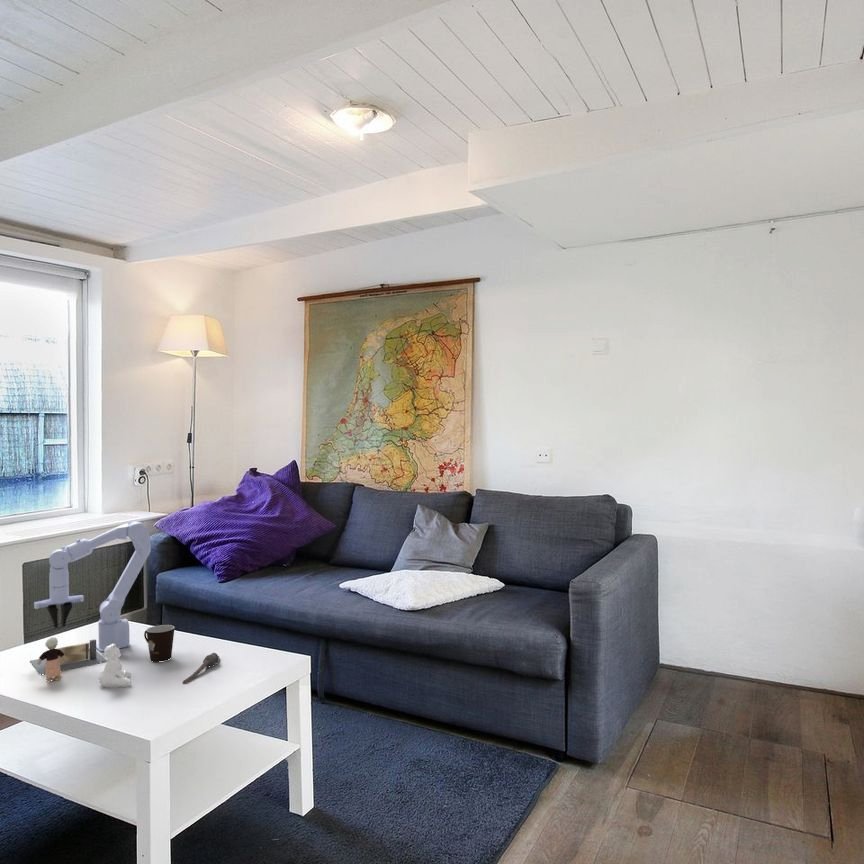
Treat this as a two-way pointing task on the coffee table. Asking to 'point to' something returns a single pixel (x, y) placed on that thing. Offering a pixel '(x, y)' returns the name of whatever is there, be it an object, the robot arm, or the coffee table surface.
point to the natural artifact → (204, 665)
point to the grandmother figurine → (52, 659)
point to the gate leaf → (75, 653)
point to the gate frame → (93, 659)
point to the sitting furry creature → (114, 670)
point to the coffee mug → (160, 642)
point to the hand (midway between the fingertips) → (59, 626)
